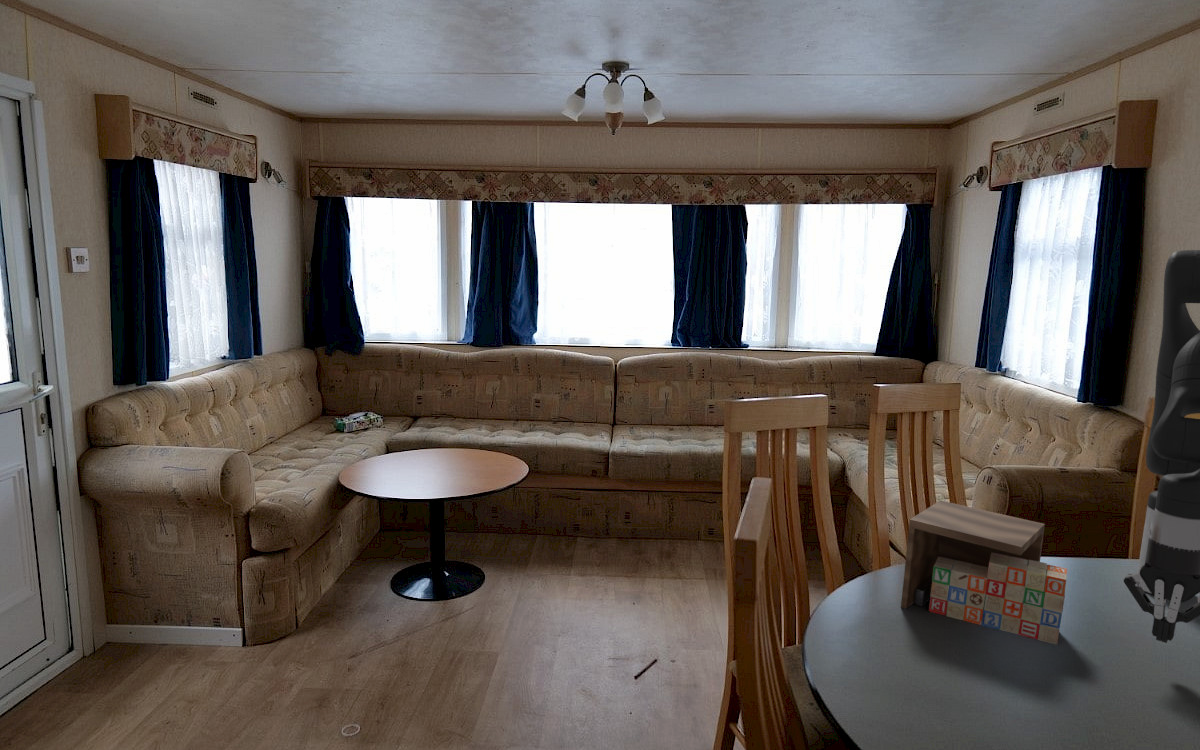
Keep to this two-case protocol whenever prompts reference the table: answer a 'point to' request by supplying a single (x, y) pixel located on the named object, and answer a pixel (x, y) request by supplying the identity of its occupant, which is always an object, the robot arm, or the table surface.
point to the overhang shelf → (964, 540)
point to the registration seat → (923, 592)
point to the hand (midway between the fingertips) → (1161, 639)
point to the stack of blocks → (1002, 594)
